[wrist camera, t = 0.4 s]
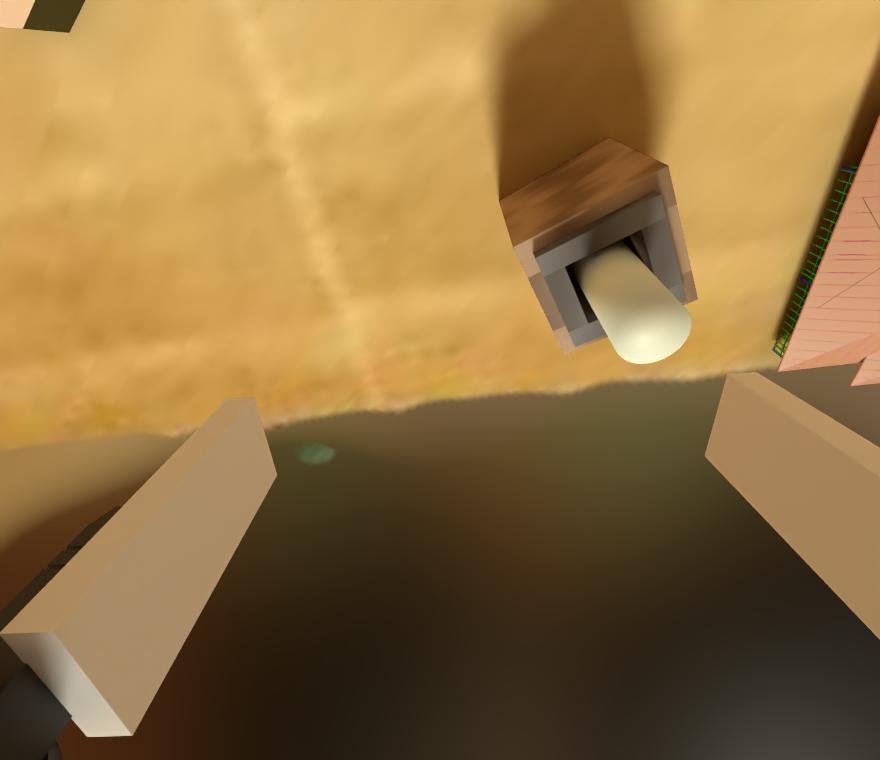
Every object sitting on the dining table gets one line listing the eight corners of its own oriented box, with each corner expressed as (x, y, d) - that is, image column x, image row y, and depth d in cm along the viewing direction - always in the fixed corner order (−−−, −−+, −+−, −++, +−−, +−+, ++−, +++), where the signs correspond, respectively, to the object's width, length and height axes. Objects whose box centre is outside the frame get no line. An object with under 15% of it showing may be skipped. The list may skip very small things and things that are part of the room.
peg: (611, 216, 30) (683, 287, 21) (626, 262, 32) (697, 345, 23) (559, 243, 31) (604, 321, 22) (576, 285, 33) (624, 373, 24)
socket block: (608, 137, 34) (675, 168, 24) (639, 242, 39) (704, 305, 29) (498, 201, 37) (515, 252, 27) (540, 289, 42) (567, 361, 32)
